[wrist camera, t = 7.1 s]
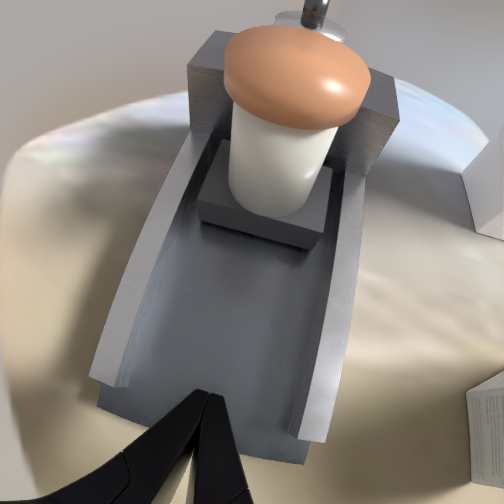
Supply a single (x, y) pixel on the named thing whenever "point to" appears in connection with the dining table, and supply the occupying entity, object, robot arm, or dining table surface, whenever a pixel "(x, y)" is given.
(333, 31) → the potentiometer
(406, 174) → the dining table surface
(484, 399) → the supplement box
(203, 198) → the knob
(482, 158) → the milk
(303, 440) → the mount
